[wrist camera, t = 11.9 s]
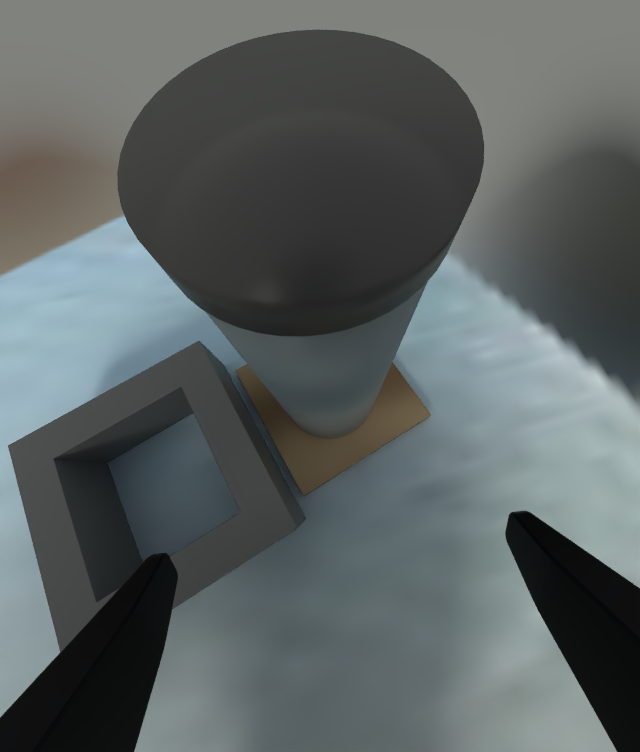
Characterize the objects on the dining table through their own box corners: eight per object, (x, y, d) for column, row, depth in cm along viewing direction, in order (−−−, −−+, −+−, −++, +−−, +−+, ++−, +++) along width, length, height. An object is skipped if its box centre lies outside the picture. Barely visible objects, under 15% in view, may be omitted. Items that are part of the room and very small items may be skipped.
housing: (305, 518, 16) (296, 528, 13) (126, 634, 15) (66, 677, 12) (223, 364, 19) (199, 340, 16) (68, 451, 18) (8, 445, 15)
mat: (428, 416, 18) (431, 414, 17) (304, 495, 17) (303, 496, 16) (350, 309, 20) (350, 305, 19) (238, 373, 19) (235, 371, 19)
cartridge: (394, 408, 17) (569, 174, 4) (312, 459, 17) (206, 380, 3) (343, 335, 19) (350, -7, 6) (267, 379, 18) (72, 115, 5)
